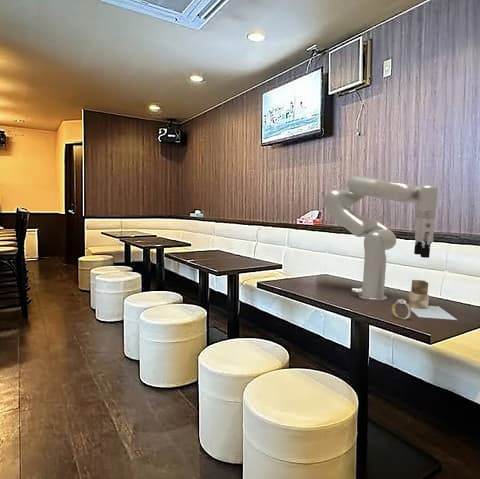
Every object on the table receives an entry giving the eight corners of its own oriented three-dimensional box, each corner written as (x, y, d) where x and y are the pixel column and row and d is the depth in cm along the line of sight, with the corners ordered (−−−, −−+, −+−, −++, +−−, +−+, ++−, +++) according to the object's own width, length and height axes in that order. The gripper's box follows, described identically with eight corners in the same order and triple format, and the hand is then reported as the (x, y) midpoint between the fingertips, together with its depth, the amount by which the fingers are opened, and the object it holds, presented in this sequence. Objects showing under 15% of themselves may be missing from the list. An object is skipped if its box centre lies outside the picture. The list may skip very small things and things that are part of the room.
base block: (412, 308, 164) (413, 294, 163) (408, 304, 170) (409, 290, 169) (427, 309, 163) (429, 295, 163) (423, 305, 169) (424, 291, 169)
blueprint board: (418, 318, 151) (418, 316, 151) (403, 305, 172) (404, 303, 172) (457, 322, 149) (457, 319, 149) (437, 307, 170) (438, 305, 170)
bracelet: (389, 318, 150) (391, 297, 150) (394, 317, 152) (396, 296, 152) (406, 323, 145) (408, 301, 144) (411, 321, 147) (413, 300, 146)
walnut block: (414, 293, 164) (415, 282, 163) (411, 291, 169) (412, 279, 168) (427, 294, 163) (428, 282, 163) (423, 292, 168) (424, 280, 168)
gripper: (441, 216, 155) (437, 259, 157) (428, 215, 172) (424, 253, 174) (421, 215, 156) (417, 258, 158) (410, 214, 173) (406, 252, 175)
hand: (421, 255), depth 166 cm, fingers open, 9 cm apart
